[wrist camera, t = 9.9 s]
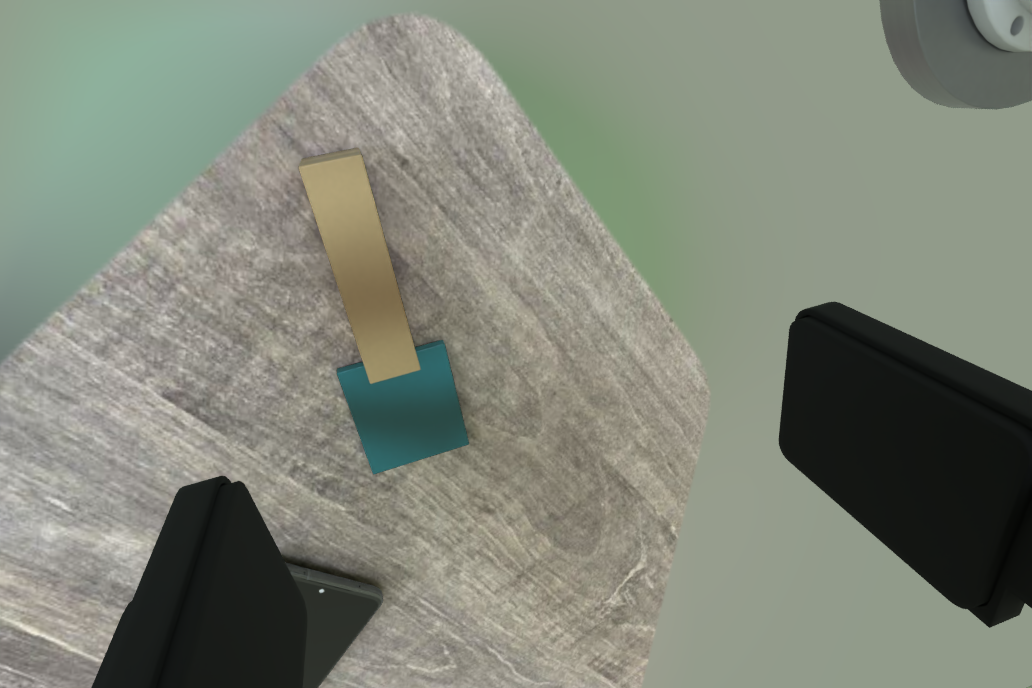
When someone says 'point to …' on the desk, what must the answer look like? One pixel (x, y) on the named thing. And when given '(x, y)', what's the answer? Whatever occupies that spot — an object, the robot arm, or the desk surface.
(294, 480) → the desk surface
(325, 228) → the spatula
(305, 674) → the smartphone
